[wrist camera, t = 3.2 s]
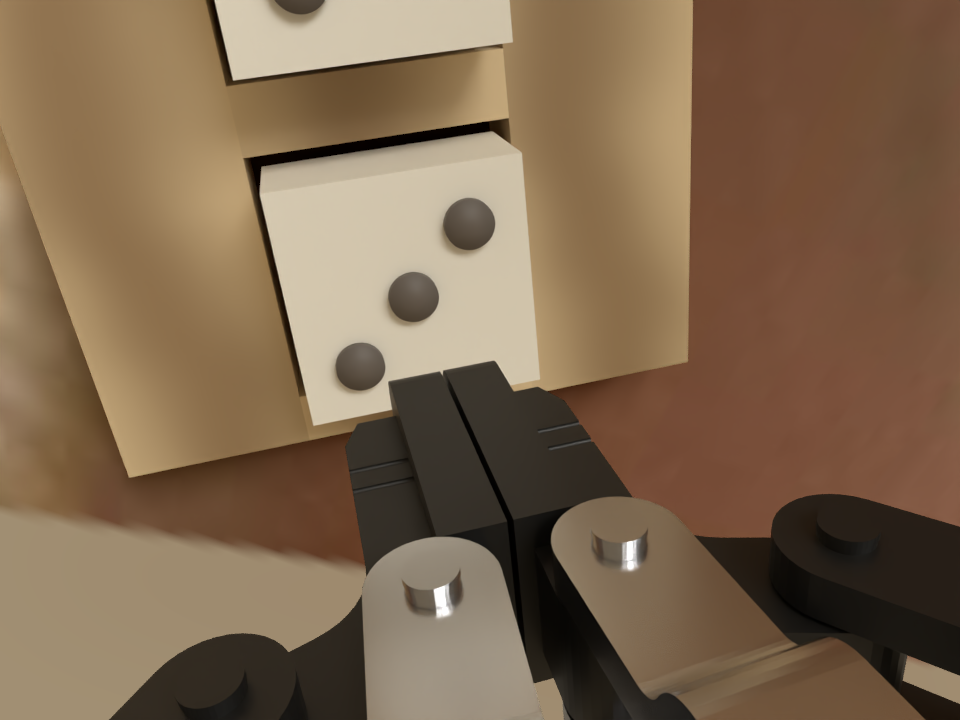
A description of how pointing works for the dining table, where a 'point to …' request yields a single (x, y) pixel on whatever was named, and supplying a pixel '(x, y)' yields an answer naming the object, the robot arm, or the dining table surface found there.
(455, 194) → the tile three
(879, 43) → the dining table surface
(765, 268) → the dining table surface
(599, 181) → the board
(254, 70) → the tile two
